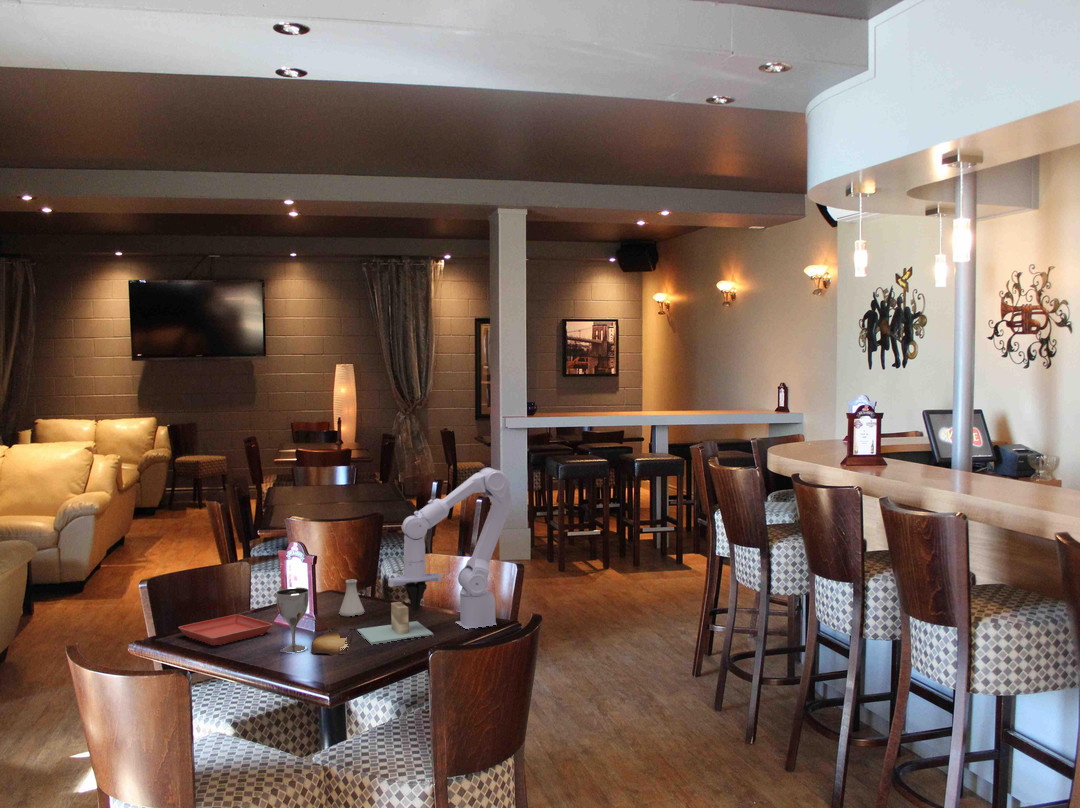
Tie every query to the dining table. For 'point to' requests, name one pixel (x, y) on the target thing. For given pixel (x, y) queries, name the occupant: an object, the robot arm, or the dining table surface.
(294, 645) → the wine glass
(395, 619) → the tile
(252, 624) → the plant saucer
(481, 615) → the robot arm
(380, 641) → the mat
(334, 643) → the parchment
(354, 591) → the flask
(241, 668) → the dining table surface
